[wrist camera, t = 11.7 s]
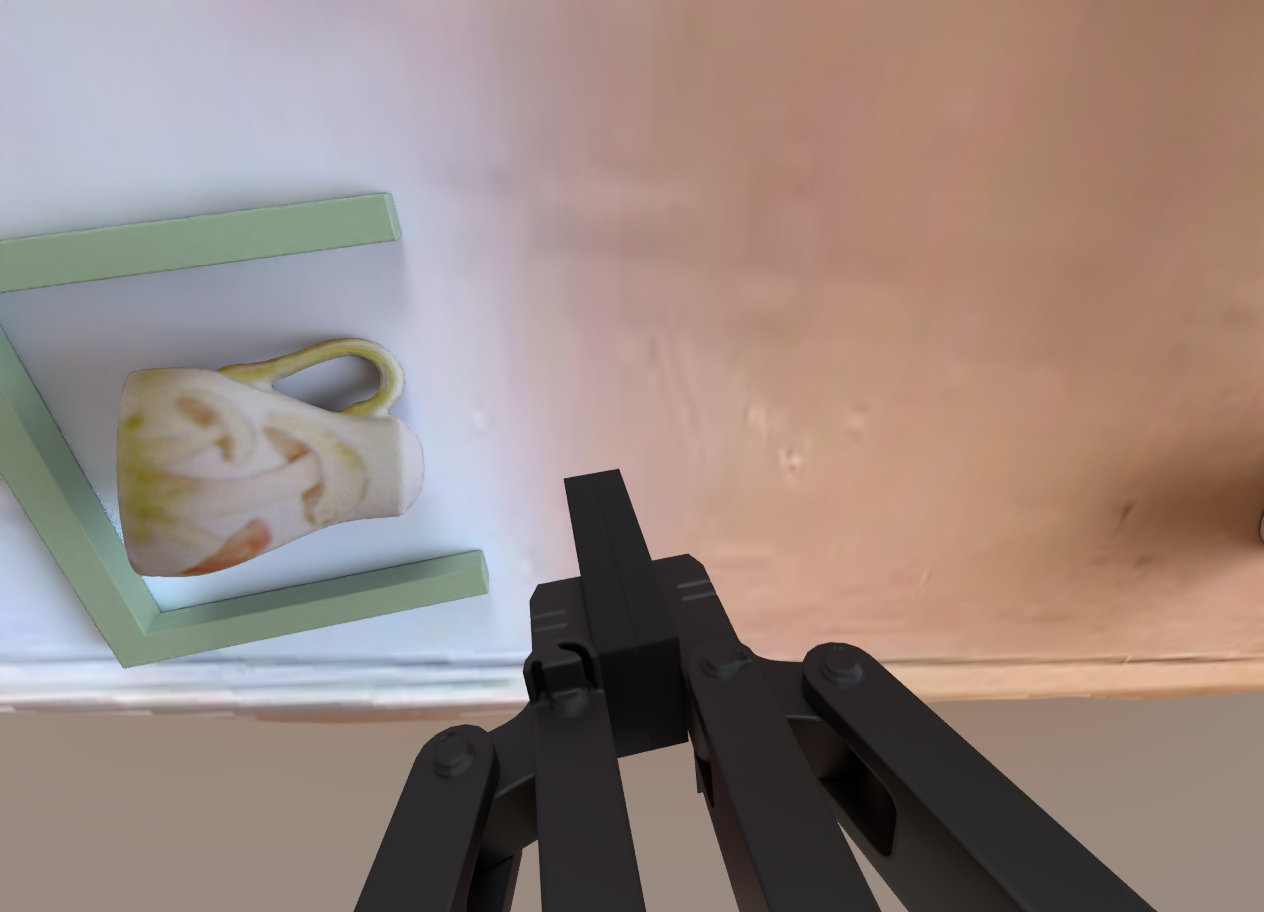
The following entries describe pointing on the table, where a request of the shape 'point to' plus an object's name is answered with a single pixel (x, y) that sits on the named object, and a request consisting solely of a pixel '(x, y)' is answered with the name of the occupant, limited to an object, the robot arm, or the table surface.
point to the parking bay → (66, 504)
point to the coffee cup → (1262, 528)
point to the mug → (254, 460)
